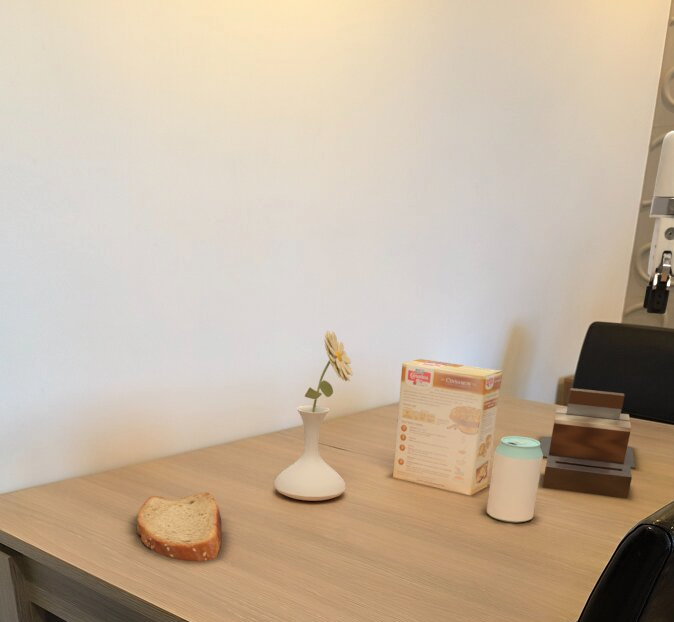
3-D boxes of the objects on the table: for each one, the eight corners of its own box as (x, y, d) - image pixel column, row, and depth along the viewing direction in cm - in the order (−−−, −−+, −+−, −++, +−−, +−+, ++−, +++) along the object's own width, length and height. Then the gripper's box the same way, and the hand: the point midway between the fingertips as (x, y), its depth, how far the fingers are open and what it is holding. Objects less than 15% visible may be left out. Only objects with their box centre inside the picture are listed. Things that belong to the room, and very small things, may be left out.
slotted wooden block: (625, 487, 144) (630, 465, 143) (627, 500, 138) (632, 477, 136) (544, 477, 148) (547, 455, 146) (541, 488, 141) (545, 466, 139)
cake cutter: (612, 452, 163) (624, 393, 158) (612, 455, 161) (624, 395, 156) (560, 446, 166) (570, 388, 161) (560, 449, 164) (570, 390, 159)
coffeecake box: (488, 487, 140) (504, 370, 132) (470, 497, 135) (485, 375, 126) (411, 469, 147) (421, 357, 139) (391, 478, 142) (400, 362, 134)
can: (526, 528, 123) (539, 449, 118) (480, 519, 125) (491, 442, 120) (536, 515, 129) (549, 439, 123) (492, 506, 131) (503, 432, 126)
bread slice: (199, 567, 104) (199, 540, 102) (92, 536, 111) (90, 510, 109) (277, 527, 118) (278, 502, 116) (177, 501, 125) (176, 478, 124)
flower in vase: (315, 512, 124) (322, 340, 114) (258, 494, 130) (261, 330, 120) (365, 493, 134) (376, 333, 123) (310, 477, 140) (317, 323, 129)
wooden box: (631, 449, 169) (639, 413, 165) (634, 470, 155) (643, 431, 152) (541, 439, 173) (547, 403, 170) (537, 458, 159) (543, 420, 156)
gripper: (701, 209, 139) (679, 316, 146) (689, 211, 154) (670, 308, 161) (654, 208, 140) (635, 313, 148) (647, 209, 156) (630, 305, 163)
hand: (653, 310), depth 154 cm, fingers open, 9 cm apart
